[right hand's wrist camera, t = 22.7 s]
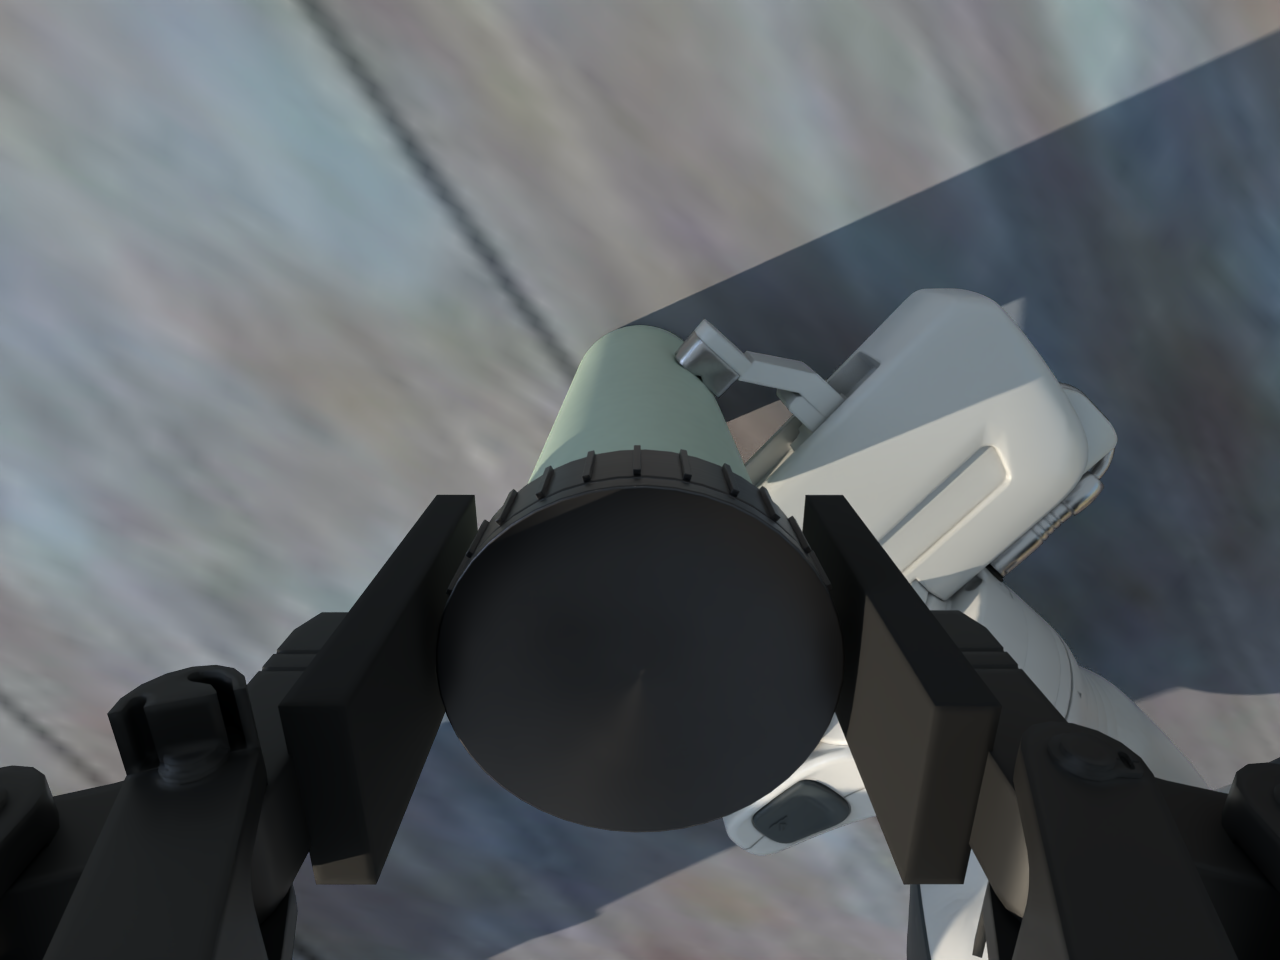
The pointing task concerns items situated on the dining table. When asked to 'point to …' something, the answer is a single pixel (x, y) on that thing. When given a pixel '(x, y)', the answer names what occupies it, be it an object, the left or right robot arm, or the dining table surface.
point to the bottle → (638, 404)
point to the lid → (640, 643)
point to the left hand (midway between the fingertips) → (618, 417)
